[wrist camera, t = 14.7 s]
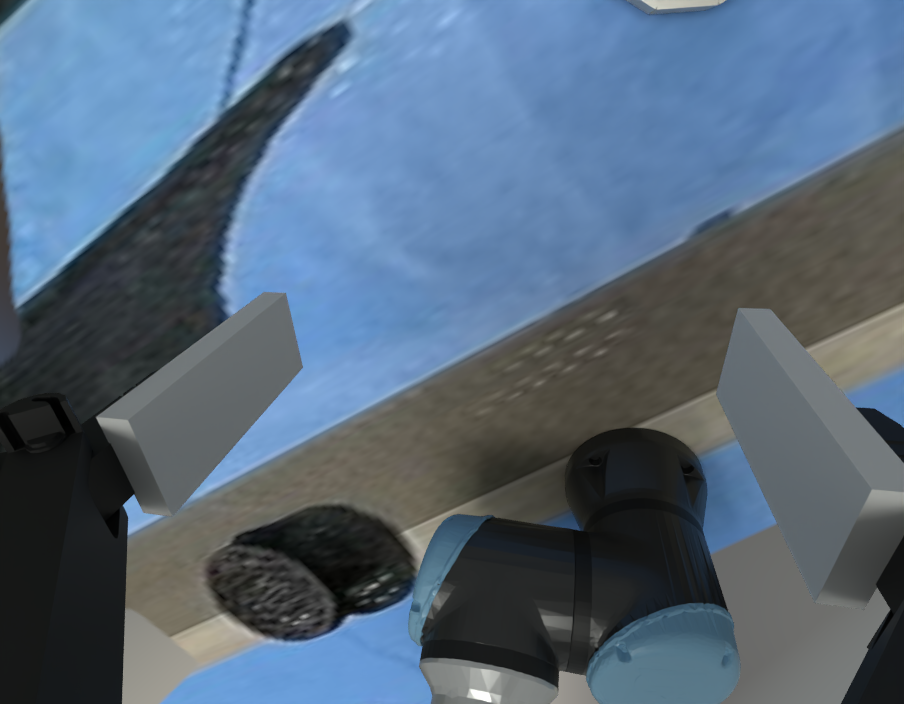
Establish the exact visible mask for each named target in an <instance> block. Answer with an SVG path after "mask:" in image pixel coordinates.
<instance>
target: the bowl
mask: <svg viewBox="0 0 904 704" xmlns="http://www.w3.org/2000/svg"><path fill="white" fill-rule="evenodd" d="M626 1H628V2H629V3H631V4H632V5H634V6H635V7H637V8H639V9H640V10H642V11H643V12H645V13H646V14H649V15H651V14H665V13H678V12H692V11H705V10H708V9H710V8H712V7H715V6H717V5H720V4H721V3H723V2H724V1H726V0H626Z"/></svg>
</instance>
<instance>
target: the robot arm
mask: <svg viewBox="0 0 904 704" xmlns="http://www.w3.org/2000/svg"><path fill="white" fill-rule="evenodd" d="M302 368H303V366H302V361H301V357H300V353H299V348H298V344H297V340H296V335H295V331H294V326H293V322H292V318H291V313H290V309H289V305H288V300H287V296H286V293H272V292H264V293H262V294H261V295H259V296H258V297H257V298H255V299H254V300H253V301H251V302H250V303H249V304H247V305H246V306H245V307H243V308H242V309H241V310H239V311H238V312H237V313H235V314H234V315H233V316H231V317H230V318H229V319H227V320H226V321H224V322H223V323H222V324H220V325H219V326H218V327H216V328H215V329H214V330H212V331H211V332H210V333H208V334H207V335H206V336H204V337H203V338H202V339H200V340H199V341H198V342H196V343H195V344H194V345H192V346H191V347H189V348H188V349H187V350H185V351H184V352H183V353H181V354H180V355H179V356H177V357H176V358H175V359H173V360H172V361H171V362H169V363H168V364H167V365H165V366H164V367H163V368H161V369H159V370H157V371H155V372H152V373H151V374H149V375H148V376H146V377H145V378H144V379H142V380H141V381H140V382H138V383H137V384H136V387H132V388H130V389H129V390H127V391H126V392H125V393H123V396H119V397H118V398H117V399H115V400H114V401H113V402H111V403H110V404H108V405H107V406H106V407H104V408H103V409H102V410H100V411H99V412H98V413H96V414H95V415H93V416H92V417H91V418H89V419H88V420H87V421H85V422H84V423H83V424H80V423H79V421H78V419H77V417H76V415H75V413H74V411H73V409H72V407H71V405H70V403H69V401H68V400H67V398H66V396H65V395H63V394H61V393H43V394H37V395H33V396H30V397H26V398H23V399H20V400H18V401H16V402H13V403H11V404H9V405H7V406H5V407H3V408H2V409H0V442H1V443H2V445H3V447H4V448H5V450H6V451H7V452H2V453H0V704H122V683H123V682H122V681H123V653H124V623H125V622H124V620H125V593H126V563H127V533H128V516H127V513H126V511H125V509H124V507H123V504H124V503H125V502H126V501H127V500H128V499H129V498H130V497H131V496H132V495H133V494H134V495H135V497H136V499H137V501H138V503H139V505H140V507H141V509H142V511H143V513H148V514H156V515H163V516H171V517H173V515H174V514H175V513H176V512H177V511H178V510H179V509H180V507H181V506H182V505H183V504H184V503H185V502H186V501H187V499H188V498H189V497H190V496H191V495H192V494H193V493H194V491H195V490H196V489H197V488H198V487H199V486H200V485H201V483H202V482H203V481H204V480H205V479H206V478H207V477H208V475H209V474H210V473H211V472H212V471H213V470H214V469H215V467H216V466H217V465H218V464H219V463H220V462H221V461H222V459H223V458H224V457H225V456H226V455H227V454H228V453H229V451H230V450H231V449H232V448H233V447H234V446H235V445H236V443H237V442H238V441H239V440H240V439H241V438H242V437H243V435H244V434H245V433H246V432H247V431H248V430H249V429H250V427H251V426H252V425H253V424H254V423H255V422H256V421H257V419H258V418H259V417H260V416H261V415H262V414H263V413H264V411H265V410H266V409H267V408H268V407H269V406H270V405H271V403H272V402H273V401H274V400H275V399H276V398H277V397H278V395H279V394H280V393H281V392H282V391H283V390H284V389H285V387H286V386H287V385H288V384H289V383H290V382H291V381H292V379H293V378H294V377H295V376H296V375H297V374H298V373H299V371H300V370H301V369H302ZM716 395H717V397H718V399H719V401H720V403H721V405H722V408H723V410H724V412H725V414H726V416H727V418H728V420H729V422H730V424H731V427H732V429H733V431H734V433H735V435H736V437H737V439H738V441H739V444H740V446H741V448H742V450H743V452H744V454H745V456H746V458H747V461H748V463H749V465H750V467H751V469H752V471H753V473H754V475H755V477H756V480H757V482H758V484H759V486H760V488H761V490H762V492H763V494H764V497H765V499H766V501H767V503H768V505H769V507H770V509H771V511H772V513H773V516H774V518H775V520H776V522H777V524H778V526H779V528H780V530H781V532H782V534H783V537H784V539H785V541H786V543H787V545H788V547H789V549H790V551H791V554H792V556H793V558H794V560H795V562H796V564H797V566H798V568H799V571H800V573H801V575H802V577H803V579H804V581H805V583H806V585H807V588H808V590H809V592H810V594H811V596H812V598H813V600H814V602H815V603H818V604H825V605H833V606H840V607H847V608H855V609H862V610H863V609H864V608H865V607H866V605H867V603H868V602H869V600H870V598H871V597H872V595H873V593H874V591H875V590H876V588H878V589H879V591H880V592H881V594H882V596H883V597H884V599H885V601H886V602H887V604H888V606H889V607H890V611H889V613H888V614H887V616H886V617H885V619H884V621H883V622H882V624H881V625H880V627H879V629H878V630H877V632H876V633H875V635H874V636H873V638H872V640H871V641H870V643H869V645H868V646H867V648H868V649H869V650H868V652H867V654H866V656H865V658H864V660H863V662H862V664H861V665H860V668H859V669H858V671H857V673H856V675H855V677H854V679H853V681H852V683H851V685H850V687H849V689H848V691H847V693H846V695H845V697H844V699H843V701H842V703H841V704H904V428H903V427H902V426H901V425H900V424H898V423H897V422H895V421H893V420H892V419H890V418H889V417H887V416H885V415H884V414H882V413H881V412H879V411H877V410H876V409H871V408H856V407H855V406H854V405H853V404H852V403H851V402H850V401H849V399H848V398H847V397H846V396H845V395H844V394H843V392H842V391H841V390H840V389H839V388H838V387H837V386H836V384H835V383H834V382H833V381H832V380H831V379H830V377H829V376H828V375H827V374H826V373H825V372H824V371H823V369H822V368H821V367H820V366H819V365H818V364H817V362H816V361H815V360H814V359H813V358H812V357H811V356H810V354H809V353H808V352H807V351H806V350H805V349H804V347H803V346H802V345H801V344H800V343H799V342H798V340H797V339H796V338H795V337H794V336H793V335H792V334H791V332H790V331H789V330H788V329H787V328H786V327H785V325H784V324H783V323H782V322H781V321H780V320H779V319H778V317H777V316H776V315H775V314H774V313H773V312H772V310H771V309H754V308H738V312H737V315H736V319H735V323H734V327H733V331H732V335H731V339H730V342H729V346H728V350H727V354H726V358H725V362H724V366H723V370H722V373H721V377H720V381H719V385H718V389H717V393H716ZM565 491H566V497H567V501H568V504H569V506H570V508H571V510H572V513H573V515H574V517H575V519H576V521H577V524H578V526H579V528H580V530H581V531H579V530H573V529H567V528H560V527H553V526H546V525H539V524H533V523H527V522H520V521H514V520H508V519H501V518H495V517H494V516H493V515H487V516H472V515H462V514H457V515H453V516H450V517H448V518H447V519H446V520H444V521H443V522H442V523H441V525H440V526H439V527H438V528H437V530H436V531H435V533H434V535H433V537H432V539H431V541H430V543H429V545H428V548H427V550H426V553H425V555H424V558H423V561H422V564H421V567H420V570H419V573H418V577H417V580H416V584H415V588H414V592H413V599H414V601H413V602H412V606H411V609H410V613H409V622H408V630H409V635H410V637H411V639H412V640H413V641H414V642H416V644H417V645H418V646H423V647H422V653H421V658H420V663H419V668H420V669H421V671H422V673H423V675H424V677H425V679H426V681H427V683H428V684H429V686H430V689H431V693H432V700H431V704H550V703H551V702H552V701H553V700H554V699H555V698H556V697H557V696H558V681H559V671H565V672H570V673H575V674H580V675H586V680H587V683H588V686H589V688H590V690H591V692H592V695H593V696H594V698H595V699H596V700H597V701H598V702H599V704H720V703H721V702H722V701H724V700H725V699H726V698H727V697H728V696H729V695H730V694H731V693H732V691H733V690H734V689H735V687H736V685H737V683H738V680H739V677H740V669H741V664H740V657H739V653H738V649H737V645H736V641H735V637H734V631H733V629H734V622H733V620H732V617H731V615H730V613H729V612H728V609H727V606H726V603H725V600H724V597H723V594H722V590H721V587H720V584H719V581H718V578H717V575H716V571H715V568H714V565H713V562H712V559H711V556H710V552H709V549H708V546H707V543H706V540H705V536H704V533H703V523H704V515H705V508H706V500H707V484H706V479H705V477H704V474H703V471H702V468H701V465H700V463H699V461H698V459H697V457H696V456H695V454H694V453H693V452H692V451H691V450H690V449H689V448H688V447H687V446H686V445H684V444H683V443H682V442H680V441H679V440H677V439H675V438H673V437H671V436H669V435H666V434H663V433H660V432H657V431H652V430H647V429H620V430H614V431H610V432H606V433H603V434H601V435H598V436H596V437H594V438H592V439H590V440H589V441H587V442H585V443H584V444H583V445H582V446H580V447H579V448H578V449H577V450H576V451H575V453H574V454H573V455H572V457H571V458H570V460H569V462H568V465H567V468H566V473H565Z"/></svg>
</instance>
